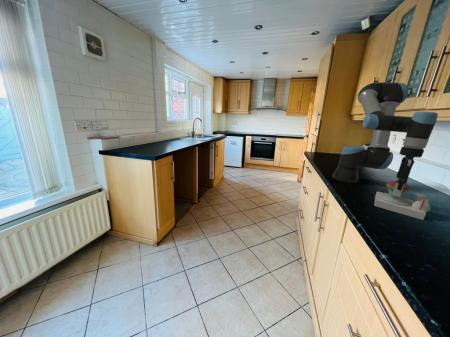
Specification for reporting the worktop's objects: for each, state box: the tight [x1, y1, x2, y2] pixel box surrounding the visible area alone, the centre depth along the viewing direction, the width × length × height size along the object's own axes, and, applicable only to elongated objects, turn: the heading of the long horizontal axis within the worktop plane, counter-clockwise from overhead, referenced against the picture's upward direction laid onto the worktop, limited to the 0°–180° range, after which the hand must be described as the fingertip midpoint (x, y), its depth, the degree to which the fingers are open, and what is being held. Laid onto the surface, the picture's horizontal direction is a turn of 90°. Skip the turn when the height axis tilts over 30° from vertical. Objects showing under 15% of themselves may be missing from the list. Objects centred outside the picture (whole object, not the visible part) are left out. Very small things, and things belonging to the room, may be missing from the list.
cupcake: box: [385, 180, 411, 197], centre depth 88 cm, size 9×8×12 cm
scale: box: [374, 191, 431, 221], centre depth 89 cm, size 16×18×8 cm
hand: (395, 192), depth 90 cm, fingers closed on cupcake, 8 cm apart
